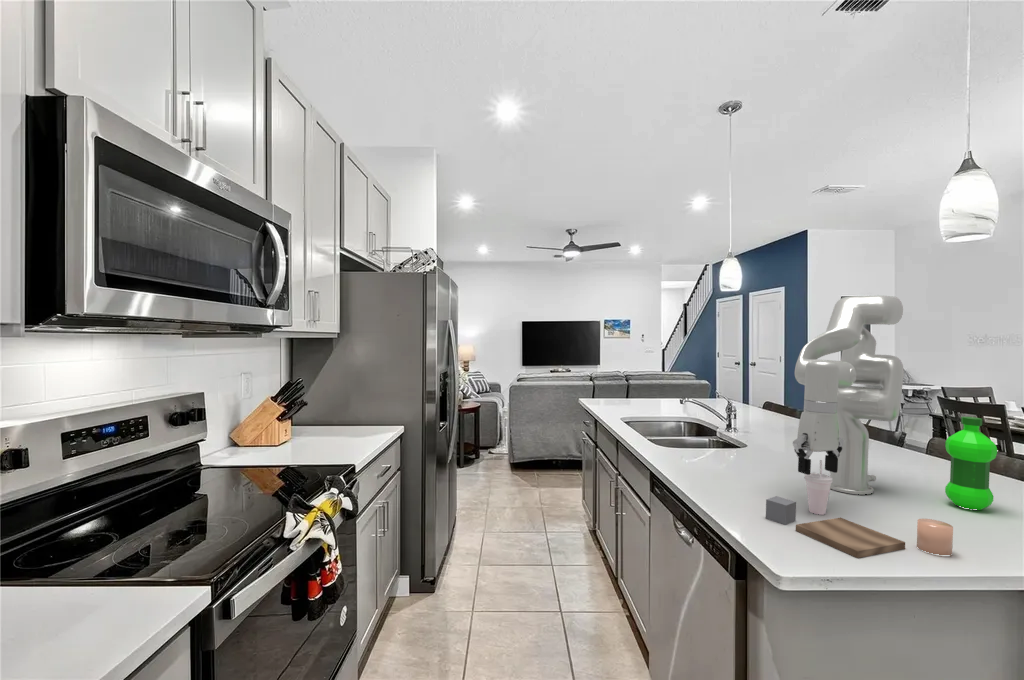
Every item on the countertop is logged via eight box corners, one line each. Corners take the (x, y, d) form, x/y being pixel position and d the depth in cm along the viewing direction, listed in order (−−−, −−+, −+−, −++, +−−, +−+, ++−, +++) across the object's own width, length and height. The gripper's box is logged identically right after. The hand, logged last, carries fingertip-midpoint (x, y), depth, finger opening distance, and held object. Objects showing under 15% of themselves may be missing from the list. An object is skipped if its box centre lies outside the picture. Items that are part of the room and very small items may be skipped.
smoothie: (822, 518, 127) (824, 464, 127) (798, 510, 133) (799, 458, 133) (836, 514, 130) (838, 461, 130) (812, 506, 136) (814, 455, 136)
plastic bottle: (944, 498, 145) (948, 413, 144) (995, 508, 137) (998, 418, 137) (941, 506, 138) (944, 417, 137) (994, 517, 130) (997, 423, 130)
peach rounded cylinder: (927, 543, 113) (928, 517, 113) (958, 554, 108) (959, 527, 108) (910, 546, 111) (911, 520, 111) (940, 558, 106) (941, 530, 106)
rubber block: (775, 514, 130) (776, 496, 129) (795, 521, 125) (796, 501, 125) (765, 518, 127) (766, 499, 127) (785, 525, 123) (786, 505, 122)
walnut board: (840, 523, 124) (840, 517, 124) (905, 548, 110) (905, 542, 110) (795, 530, 119) (795, 524, 119) (857, 558, 105) (857, 551, 105)
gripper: (830, 405, 137) (828, 467, 137) (783, 406, 132) (780, 470, 132) (857, 409, 130) (854, 474, 130) (809, 410, 125) (806, 478, 125)
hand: (817, 472), depth 131 cm, fingers open, 9 cm apart
